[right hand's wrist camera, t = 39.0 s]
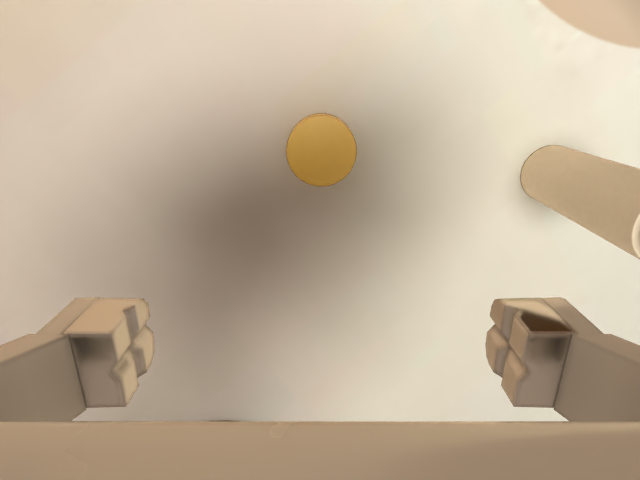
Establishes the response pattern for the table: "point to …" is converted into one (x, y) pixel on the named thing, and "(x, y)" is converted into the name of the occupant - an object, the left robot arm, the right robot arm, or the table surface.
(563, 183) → the jar
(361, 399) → the table surface
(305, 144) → the lid
